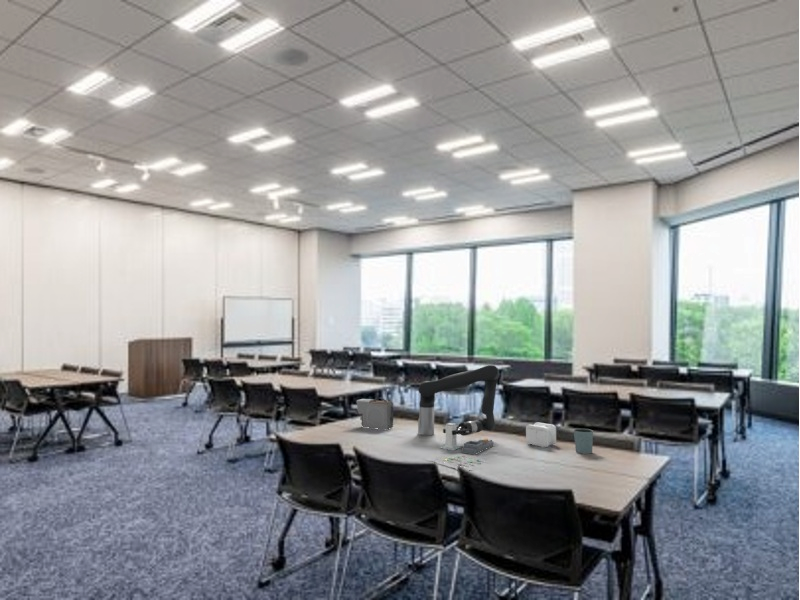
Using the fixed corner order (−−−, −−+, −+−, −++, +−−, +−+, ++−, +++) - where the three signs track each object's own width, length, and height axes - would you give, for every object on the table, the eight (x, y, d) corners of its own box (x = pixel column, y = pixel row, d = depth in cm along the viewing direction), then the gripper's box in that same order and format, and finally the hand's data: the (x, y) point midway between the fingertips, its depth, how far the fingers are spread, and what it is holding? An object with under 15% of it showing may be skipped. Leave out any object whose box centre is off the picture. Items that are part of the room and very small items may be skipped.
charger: (445, 446, 307) (445, 423, 307) (450, 445, 310) (450, 422, 311) (452, 448, 304) (452, 424, 305) (456, 446, 307) (456, 423, 308)
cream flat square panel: (423, 460, 282) (423, 457, 282) (464, 452, 300) (464, 449, 300) (464, 473, 258) (464, 469, 258) (506, 464, 276) (506, 461, 276)
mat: (440, 448, 306) (440, 447, 306) (447, 445, 313) (447, 444, 313) (454, 450, 301) (454, 449, 301) (461, 447, 308) (461, 446, 308)
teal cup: (593, 455, 291) (593, 432, 292) (573, 453, 295) (573, 431, 295) (593, 450, 301) (593, 429, 301) (574, 449, 304) (574, 427, 305)
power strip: (462, 452, 296) (462, 444, 297) (485, 442, 322) (485, 434, 322) (475, 454, 292) (475, 446, 292) (497, 443, 317) (497, 436, 317)
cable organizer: (557, 445, 313) (557, 425, 314) (547, 448, 306) (547, 427, 306) (535, 441, 324) (535, 421, 325) (525, 444, 317) (525, 424, 317)
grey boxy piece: (363, 424, 373) (363, 380, 374) (394, 427, 364) (395, 382, 365) (354, 427, 362) (355, 382, 363) (387, 430, 353) (387, 384, 354)
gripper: (458, 419, 322) (438, 423, 311) (477, 423, 312) (457, 427, 300) (458, 432, 322) (438, 436, 311) (477, 436, 311) (457, 441, 300)
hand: (448, 432), depth 306 cm, fingers open, 6 cm apart
